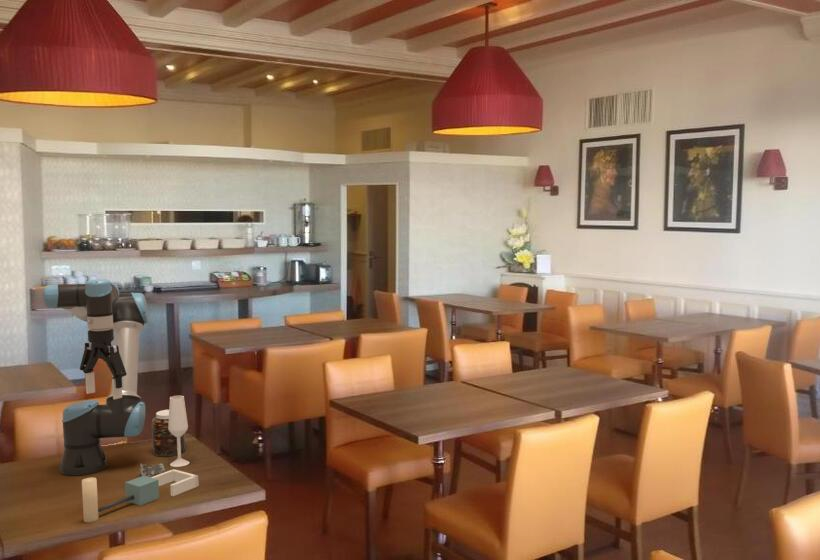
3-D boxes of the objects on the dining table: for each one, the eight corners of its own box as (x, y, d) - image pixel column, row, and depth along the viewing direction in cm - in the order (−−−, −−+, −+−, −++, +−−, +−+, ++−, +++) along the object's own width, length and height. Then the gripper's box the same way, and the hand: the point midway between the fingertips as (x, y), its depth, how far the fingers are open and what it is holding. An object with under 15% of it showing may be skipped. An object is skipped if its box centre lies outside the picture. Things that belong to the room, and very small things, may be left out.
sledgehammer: (77, 519, 227) (75, 479, 226) (144, 494, 247) (142, 457, 246) (92, 524, 224) (90, 484, 222) (159, 498, 243) (157, 461, 242)
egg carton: (139, 474, 266) (139, 462, 266) (162, 471, 269) (162, 459, 269) (142, 484, 256) (142, 472, 256) (166, 480, 259) (165, 468, 259)
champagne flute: (166, 463, 276) (163, 397, 274) (184, 459, 280) (181, 393, 278) (175, 468, 271) (172, 400, 269) (192, 463, 275) (190, 397, 273)
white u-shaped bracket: (148, 489, 251) (147, 478, 251) (173, 479, 260) (173, 469, 260) (173, 496, 245) (172, 485, 244) (198, 486, 253) (198, 475, 253)
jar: (191, 451, 289) (189, 411, 288) (162, 459, 281) (160, 418, 279) (175, 444, 297) (173, 406, 296) (146, 452, 289) (144, 412, 288)
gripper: (65, 327, 247) (69, 393, 249) (115, 334, 233) (118, 403, 235) (86, 324, 253) (90, 388, 255) (136, 330, 239) (139, 397, 241)
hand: (104, 395), depth 245 cm, fingers open, 13 cm apart
